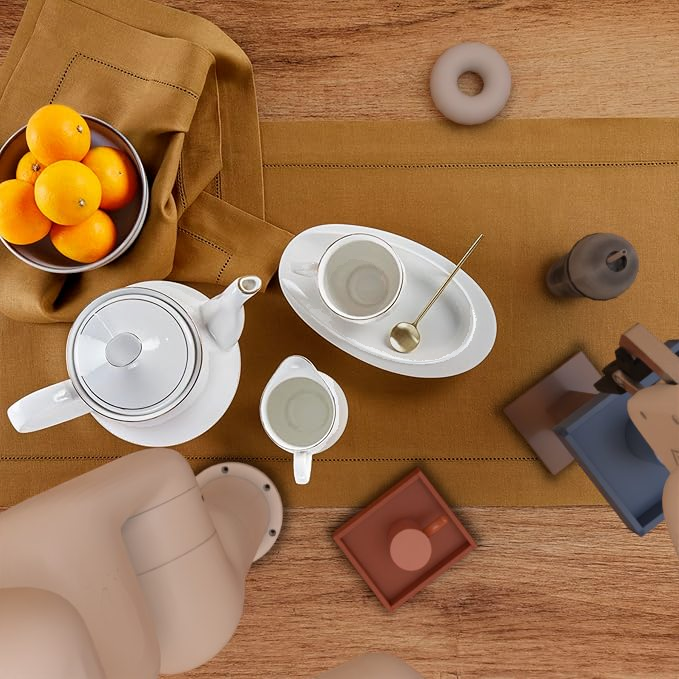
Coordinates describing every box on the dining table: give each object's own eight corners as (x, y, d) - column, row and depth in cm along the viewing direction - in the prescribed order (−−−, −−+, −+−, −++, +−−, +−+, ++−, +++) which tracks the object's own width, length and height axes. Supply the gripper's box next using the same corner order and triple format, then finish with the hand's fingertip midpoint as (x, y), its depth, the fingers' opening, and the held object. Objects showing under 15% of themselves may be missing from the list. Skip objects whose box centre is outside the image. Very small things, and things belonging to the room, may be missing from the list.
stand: (551, 474, 80) (629, 520, 58) (501, 409, 80) (560, 430, 58) (628, 415, 80) (736, 438, 58) (578, 350, 80) (667, 348, 58)
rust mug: (403, 565, 79) (406, 579, 74) (379, 533, 79) (381, 545, 74) (454, 525, 79) (461, 537, 74) (430, 494, 79) (436, 503, 74)
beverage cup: (587, 314, 80) (668, 300, 60) (529, 302, 80) (590, 285, 60) (599, 256, 80) (683, 223, 60) (541, 244, 80) (605, 208, 60)
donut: (493, 40, 81) (417, 63, 81) (500, 25, 78) (420, 50, 78) (517, 115, 81) (441, 139, 81) (526, 104, 77) (446, 129, 77)
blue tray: (628, 529, 58) (641, 537, 55) (551, 429, 58) (560, 432, 55) (746, 439, 58) (764, 443, 55) (668, 339, 58) (682, 338, 56)
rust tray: (388, 605, 79) (389, 614, 77) (332, 532, 80) (332, 538, 77) (474, 540, 80) (478, 546, 77) (418, 467, 80) (420, 470, 77)
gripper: (655, 367, 30) (538, 364, 47) (885, 670, 30) (684, 556, 47) (782, 271, 30) (620, 302, 47) (1012, 570, 30) (765, 493, 47)
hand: (652, 429), depth 47 cm, fingers open, 9 cm apart
